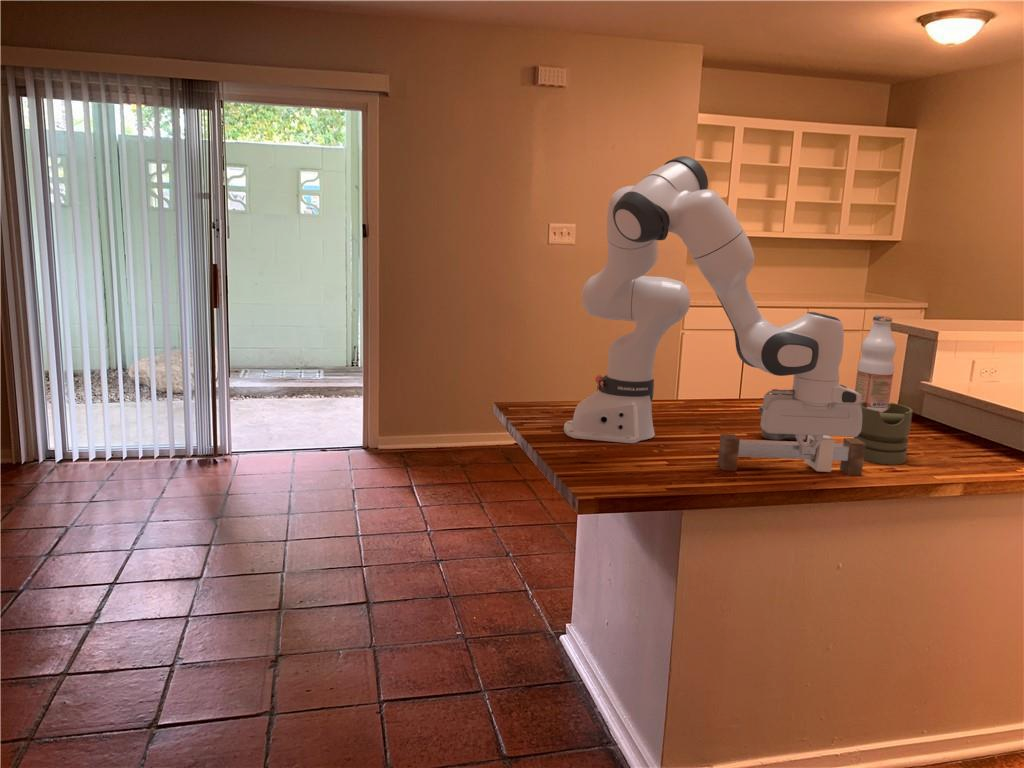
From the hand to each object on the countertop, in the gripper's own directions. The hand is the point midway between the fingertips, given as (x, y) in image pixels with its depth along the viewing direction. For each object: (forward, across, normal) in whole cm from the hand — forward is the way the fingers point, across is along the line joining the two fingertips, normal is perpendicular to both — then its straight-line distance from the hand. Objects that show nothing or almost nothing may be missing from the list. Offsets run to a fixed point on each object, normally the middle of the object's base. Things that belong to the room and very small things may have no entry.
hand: (806, 454), depth 164 cm
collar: (+5, +4, +4) cm, 7 cm away
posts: (+5, -2, +4) cm, 6 cm away
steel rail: (+2, -2, +4) cm, 5 cm away
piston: (+5, +23, +16) cm, 28 cm away
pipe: (+5, +5, +28) cm, 29 cm away
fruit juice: (+4, +42, +62) cm, 75 cm away
